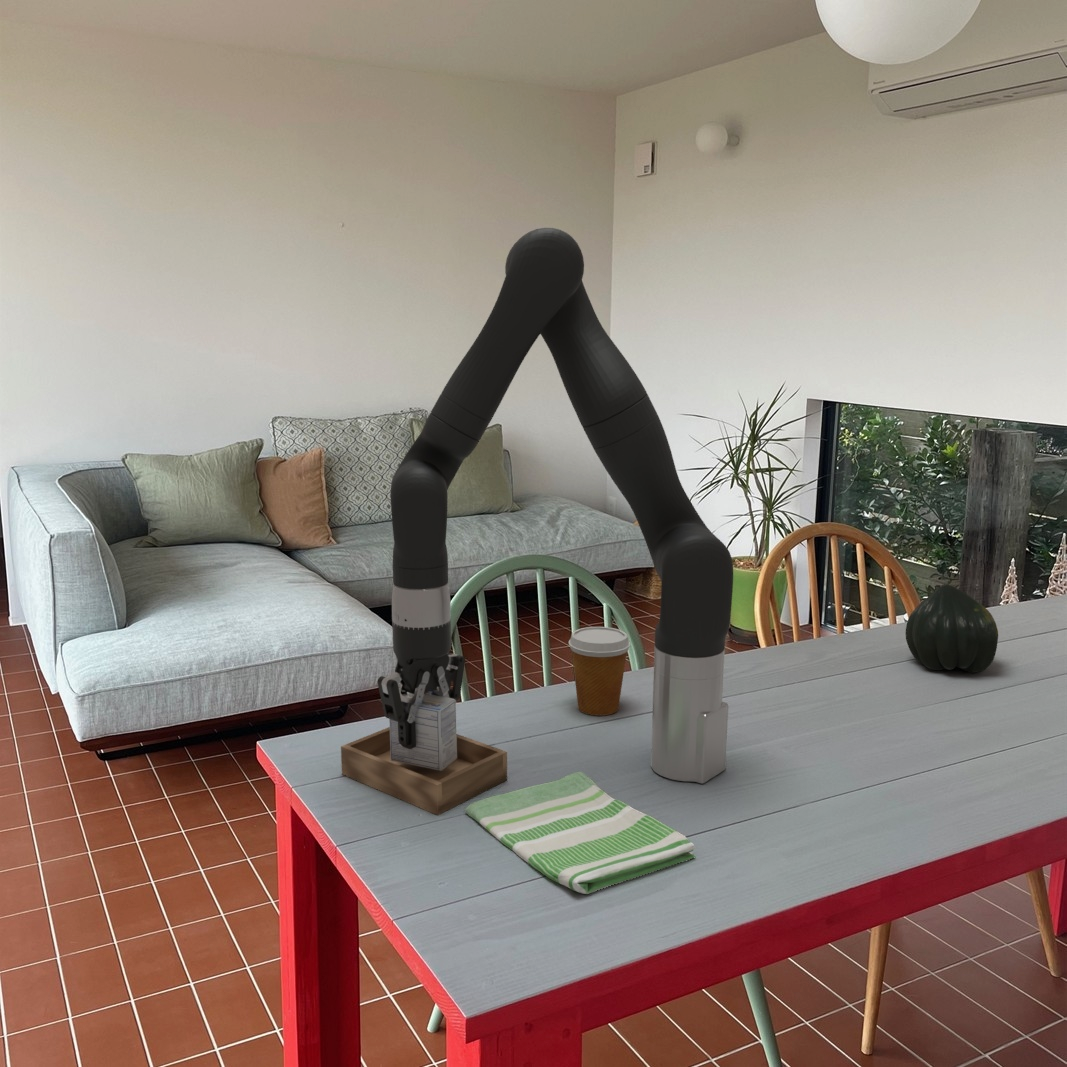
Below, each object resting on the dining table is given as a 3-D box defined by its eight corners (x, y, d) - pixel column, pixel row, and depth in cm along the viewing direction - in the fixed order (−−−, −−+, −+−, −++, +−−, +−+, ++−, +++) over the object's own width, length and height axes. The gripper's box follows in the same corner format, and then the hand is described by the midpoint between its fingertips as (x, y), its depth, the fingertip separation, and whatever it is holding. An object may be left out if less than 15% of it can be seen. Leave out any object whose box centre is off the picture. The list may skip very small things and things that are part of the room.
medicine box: (458, 759, 140) (457, 698, 138) (441, 772, 136) (440, 709, 134) (407, 749, 143) (405, 689, 142) (389, 761, 139) (387, 699, 138)
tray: (507, 780, 140) (507, 751, 139) (437, 815, 130) (437, 785, 129) (412, 744, 151) (411, 718, 150) (341, 774, 141) (340, 746, 140)
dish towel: (583, 784, 140) (583, 764, 139) (700, 861, 120) (701, 839, 120) (464, 817, 130) (464, 797, 130) (571, 906, 111) (571, 883, 110)
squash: (994, 659, 172) (1001, 578, 179) (898, 649, 178) (908, 572, 185) (994, 693, 183) (1000, 616, 190) (904, 683, 190) (913, 609, 196)
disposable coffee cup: (624, 722, 159) (626, 646, 157) (562, 717, 161) (563, 642, 159) (631, 699, 168) (633, 627, 166) (573, 695, 170) (574, 624, 168)
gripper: (400, 635, 128) (404, 765, 131) (480, 610, 139) (481, 731, 142) (359, 623, 133) (363, 749, 136) (440, 600, 143) (442, 717, 147)
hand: (424, 739), depth 139 cm, fingers closed on medicine box, 5 cm apart
